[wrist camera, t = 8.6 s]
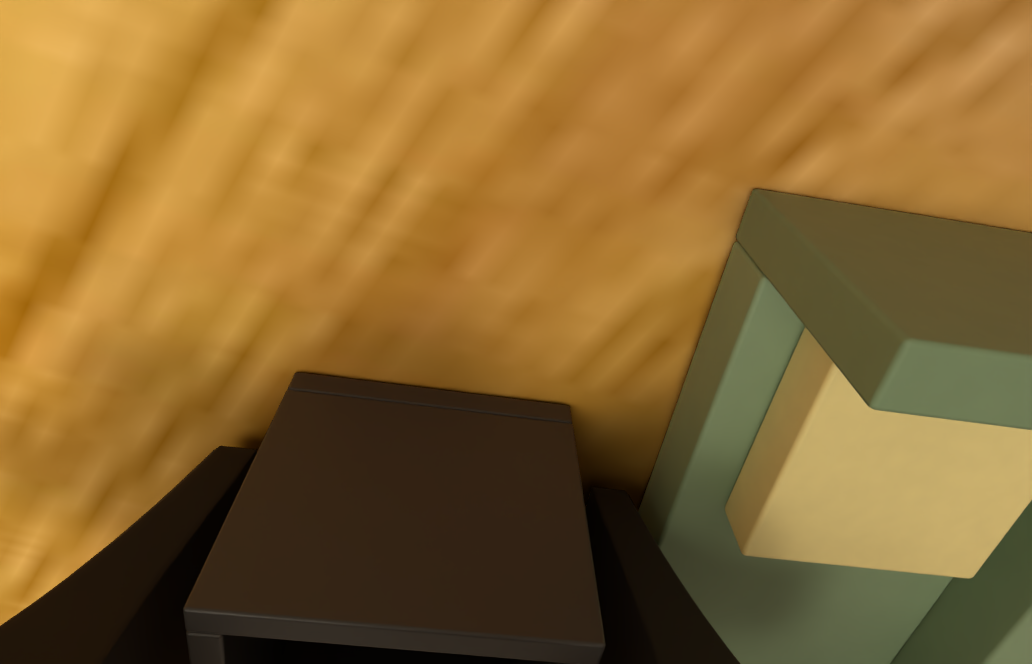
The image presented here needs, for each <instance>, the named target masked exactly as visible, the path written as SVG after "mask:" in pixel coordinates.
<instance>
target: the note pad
mask: <svg viewBox="0 0 1032 664" xmlns="http://www.w3.org/2000/svg"><path fill="white" fill-rule="evenodd" d="M1031 500H1032V430H1027V429H1019V428H1011V427H1003V426H996V425H988V424H980V423H972V422H965V421H957V420H949V419H941V418H933V417H926V416H918V415H910V414H902V413H894V412H887V411H879V410H874V409H872V408H870V407H868V406H867V404H866V403H865V402H864V401H863V399H862V398H861V397H860V395H859V394H858V393H857V392H856V390H855V389H854V388H853V387H852V385H851V384H850V383H849V382H848V380H847V379H846V378H845V376H844V375H843V374H842V373H841V371H840V370H839V369H838V368H837V366H836V365H835V364H834V362H833V361H832V360H831V359H830V357H829V356H828V355H827V354H826V352H825V351H824V350H823V349H822V347H821V346H820V345H819V343H818V342H817V341H816V340H815V338H814V337H813V336H812V335H811V333H810V332H809V331H808V329H807V328H806V327H805V328H804V330H803V332H802V335H801V337H800V339H799V341H798V344H797V346H796V348H795V350H794V353H793V355H792V357H791V359H790V362H789V364H788V366H787V368H786V371H785V373H784V375H783V377H782V380H781V382H780V384H779V386H778V389H777V391H776V393H775V395H774V398H773V400H772V402H771V404H770V407H769V409H768V411H767V413H766V416H765V418H764V420H763V422H762V425H761V427H760V429H759V431H758V434H757V436H756V438H755V440H754V443H753V445H752V447H751V449H750V452H749V454H748V456H747V458H746V461H745V463H744V465H743V467H742V470H741V472H740V474H739V476H738V479H737V481H736V483H735V485H734V488H733V490H732V492H731V494H730V497H729V499H728V501H727V503H726V506H725V512H726V515H727V517H728V520H729V523H730V525H731V528H732V530H733V533H734V535H735V538H736V540H737V543H738V545H739V548H740V551H741V553H742V554H743V555H745V556H752V557H762V558H772V559H782V560H791V561H801V562H811V563H821V564H830V565H840V566H850V567H860V568H869V569H879V570H889V571H899V572H908V573H918V574H928V575H938V576H947V577H957V578H967V579H969V578H972V577H974V576H975V574H976V573H977V572H978V570H979V569H980V568H981V566H982V565H983V564H984V562H985V561H986V560H987V558H988V557H989V556H990V554H991V553H992V552H993V550H994V549H995V548H996V546H997V545H998V544H999V543H1000V541H1001V540H1002V539H1003V537H1004V536H1005V535H1006V533H1007V532H1008V531H1009V529H1010V528H1011V527H1012V525H1013V524H1014V523H1015V521H1016V520H1017V519H1018V517H1019V516H1020V515H1021V513H1022V512H1023V511H1024V509H1025V508H1026V507H1027V506H1028V504H1029V503H1030V502H1031Z"/></svg>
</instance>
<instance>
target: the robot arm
mask: <svg viewBox="0 0 1032 664" xmlns="http://www.w3.org/2000/svg"><path fill="white" fill-rule="evenodd" d="M256 454H257V450H254V449H245V448H236V447H227V446H219V447H218V448H216V449H215V450H213V451H212V452H211V453H210V454H209V455H208V456H207V457H206V458H205V459H204V460H203V461H202V462H201V463H200V464H199V465H198V466H197V467H196V468H195V469H193V470H192V471H191V472H190V473H189V474H188V475H187V476H186V477H185V478H184V479H183V480H182V481H181V482H180V483H179V484H177V485H176V486H175V487H174V488H173V489H172V490H171V491H170V492H169V493H168V494H167V495H165V496H164V497H163V498H162V499H161V500H160V501H159V502H158V503H157V504H156V505H154V506H153V507H152V508H151V509H150V510H149V511H148V512H146V513H145V514H144V515H143V516H142V517H141V518H139V519H138V520H137V521H136V522H135V523H134V524H133V525H131V526H130V527H129V528H128V529H127V530H126V531H125V532H123V533H122V534H121V535H120V536H119V537H117V538H116V539H115V540H114V541H113V542H111V543H110V544H109V545H108V546H107V547H105V548H104V549H103V550H101V551H100V552H99V553H98V554H96V555H95V556H94V557H93V558H91V559H90V560H89V561H88V562H86V563H85V564H84V565H83V566H81V567H80V568H79V569H78V570H76V571H75V572H74V573H73V574H71V575H70V576H69V577H68V578H66V579H65V580H64V581H62V582H61V583H60V584H58V585H57V586H56V587H54V588H53V589H52V590H50V591H49V592H48V593H46V594H45V595H43V596H42V597H41V598H39V599H38V600H37V601H35V602H34V603H32V604H31V605H30V606H28V607H27V608H25V609H24V610H23V611H21V612H20V613H18V614H17V615H15V616H14V617H12V618H11V619H10V620H8V621H7V622H5V623H4V624H2V625H1V626H0V664H190V659H189V651H188V643H187V636H186V632H187V630H186V628H185V621H184V613H183V608H184V606H185V604H186V602H187V600H188V597H189V595H190V593H191V591H192V589H193V587H194V585H195V583H196V581H197V578H198V576H199V574H200V572H201V570H202V568H203V566H204V564H205V562H206V559H207V557H208V555H209V553H210V551H211V549H212V547H213V545H214V543H215V540H216V538H217V536H218V534H219V532H220V530H221V528H222V526H223V524H224V521H225V519H226V517H227V515H228V513H229V511H230V509H231V507H232V505H233V502H234V500H235V498H236V496H237V494H238V492H239V490H240V488H241V486H242V483H243V481H244V479H245V477H246V475H247V473H248V471H249V469H250V467H251V464H252V462H253V460H254V458H255V456H256ZM585 510H586V517H587V523H588V530H589V537H590V543H591V550H592V557H593V564H594V570H595V577H596V584H597V591H598V597H599V604H600V611H601V617H602V624H603V631H604V638H605V644H606V645H605V649H604V651H603V654H602V657H601V659H600V662H599V664H741V663H740V662H739V661H738V660H737V658H736V657H735V656H734V655H733V653H732V652H731V651H730V649H729V648H728V647H727V646H726V644H725V643H724V642H723V640H722V639H721V638H720V636H719V635H718V634H717V632H716V631H715V629H714V628H713V627H712V625H711V624H710V623H709V621H708V620H707V619H706V617H705V616H704V614H703V613H702V612H701V610H700V609H699V607H698V606H697V604H696V603H695V602H694V600H693V599H692V597H691V596H690V594H689V593H688V591H687V590H686V588H685V587H684V585H683V584H682V582H681V581H680V579H679V578H678V576H677V575H676V573H675V572H674V570H673V569H672V567H671V565H670V564H669V562H668V561H667V559H666V558H665V556H664V554H663V553H662V551H661V549H660V548H659V546H658V545H657V543H656V541H655V540H654V538H653V536H652V535H651V533H650V531H649V530H648V528H647V526H646V525H645V523H644V521H643V520H642V518H641V516H640V514H639V513H638V511H637V509H636V508H635V506H634V504H633V502H632V501H631V499H630V497H629V496H628V494H627V493H626V492H625V491H623V490H614V489H605V488H596V487H592V488H591V491H590V495H589V498H588V501H587V505H586V508H585Z"/></svg>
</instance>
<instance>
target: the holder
mask: <svg viewBox="0 0 1032 664" xmlns="http://www.w3.org/2000/svg"><path fill="white" fill-rule="evenodd" d="M183 613H184V621H185V628H186V630H187V632H186V636H187V643H188V651H189V659H190V664H599V662H600V659H601V657H602V654H603V651H604V649H605V645H606V644H605V638H604V631H603V624H602V617H601V611H600V604H599V597H598V591H597V584H596V577H595V570H594V564H593V557H592V550H591V543H590V537H589V530H588V523H587V517H586V510H585V503H584V496H583V490H582V483H581V476H580V469H579V463H578V456H577V449H576V443H575V436H574V429H573V425H572V417H571V411H570V407H569V406H567V405H560V404H551V403H543V402H535V401H527V400H519V399H511V398H503V397H495V396H486V395H478V394H470V393H462V392H454V391H446V390H438V389H430V388H421V387H413V386H405V385H397V384H389V383H381V382H373V381H364V380H356V379H348V378H340V377H332V376H324V375H316V374H308V373H299V372H298V373H295V374H294V376H293V379H292V381H291V383H290V385H289V387H288V390H287V391H286V393H285V395H284V397H283V399H282V401H281V403H280V405H279V407H278V410H277V412H276V414H275V416H274V418H273V420H272V422H271V424H270V426H269V429H268V431H267V433H266V435H265V437H264V439H263V441H262V443H261V445H260V448H259V450H258V452H257V454H256V456H255V458H254V460H253V462H252V464H251V467H250V469H249V471H248V473H247V475H246V477H245V479H244V481H243V483H242V486H241V488H240V490H239V492H238V494H237V496H236V498H235V500H234V502H233V505H232V507H231V509H230V511H229V513H228V515H227V517H226V519H225V521H224V524H223V526H222V528H221V530H220V532H219V534H218V536H217V538H216V540H215V543H214V545H213V547H212V549H211V551H210V553H209V555H208V557H207V559H206V562H205V564H204V566H203V568H202V570H201V572H200V574H199V576H198V578H197V581H196V583H195V585H194V587H193V589H192V591H191V593H190V595H189V597H188V600H187V602H186V604H185V606H184V608H183Z"/></svg>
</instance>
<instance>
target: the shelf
mask: <svg viewBox="0 0 1032 664" xmlns="http://www.w3.org/2000/svg"><path fill="white" fill-rule="evenodd" d="M736 239H737V241H738V242H735V243H734V244H733V247H732V250H731V253H730V256H729V258H728V261H727V264H726V267H725V270H724V272H723V275H722V278H721V281H720V284H719V286H718V289H717V292H716V295H715V298H714V300H713V303H712V306H711V309H710V312H709V314H708V317H707V320H706V323H705V326H704V329H703V331H702V334H701V337H700V340H699V343H698V345H697V348H696V351H695V354H694V357H693V359H692V362H691V365H690V368H689V371H688V373H687V376H686V379H685V382H684V385H683V387H682V390H681V393H680V396H679V399H678V401H677V404H676V407H675V410H674V413H673V415H672V418H671V421H670V424H669V427H668V429H667V432H666V435H665V438H664V441H663V444H662V446H661V449H660V452H659V455H658V458H657V460H656V463H655V466H654V469H653V472H652V474H651V477H650V480H649V483H648V486H647V488H646V491H645V494H644V497H643V500H642V502H641V505H640V508H639V511H638V513H639V514H640V516H641V518H642V520H643V521H644V523H645V525H646V526H647V528H648V530H649V531H650V533H651V535H652V536H653V538H654V540H655V541H656V543H657V545H658V546H659V548H660V549H661V551H662V553H663V554H664V556H665V558H666V559H667V561H668V562H669V564H670V565H671V567H672V569H673V570H674V572H675V573H676V575H677V576H678V578H679V579H680V581H681V582H682V584H683V585H684V587H685V588H686V590H687V591H688V593H689V594H690V596H691V597H692V599H693V600H694V602H695V603H696V604H697V606H698V607H699V609H700V610H701V612H702V613H703V614H704V616H705V617H706V619H707V620H708V621H709V623H710V624H711V625H712V627H713V628H714V629H715V631H716V632H717V634H718V635H719V636H720V638H721V639H722V640H723V642H724V643H725V644H726V646H727V647H728V648H729V649H730V651H731V652H732V653H733V655H734V656H735V657H736V658H737V660H738V661H739V662H740V663H741V664H1032V500H1031V502H1030V503H1029V504H1028V506H1027V507H1026V508H1025V509H1024V511H1023V512H1022V513H1021V515H1020V516H1019V517H1018V519H1017V520H1016V521H1015V523H1014V524H1013V525H1012V527H1011V528H1010V529H1009V531H1008V532H1007V533H1006V535H1005V536H1004V537H1003V539H1002V540H1001V541H1000V543H999V544H998V545H997V546H996V548H995V549H994V550H993V552H992V553H991V554H990V556H989V557H988V558H987V560H986V561H985V562H984V564H983V565H982V566H981V568H980V569H979V570H978V572H977V573H976V574H975V576H974V577H972V578H969V579H967V578H957V577H947V576H938V575H928V574H918V573H908V572H899V571H889V570H879V569H869V568H860V567H850V566H840V565H830V564H821V563H811V562H801V561H791V560H782V559H772V558H762V557H752V556H745V555H743V554H742V553H741V551H740V548H739V545H738V543H737V540H736V538H735V535H734V533H733V530H732V528H731V525H730V523H729V520H728V517H727V515H726V512H725V506H726V503H727V501H728V499H729V497H730V494H731V492H732V490H733V488H734V485H735V483H736V481H737V479H738V476H739V474H740V472H741V470H742V467H743V465H744V463H745V461H746V458H747V456H748V454H749V452H750V449H751V447H752V445H753V443H754V440H755V438H756V436H757V434H758V431H759V429H760V427H761V425H762V422H763V420H764V418H765V416H766V413H767V411H768V409H769V407H770V404H771V402H772V400H773V398H774V395H775V393H776V391H777V389H778V386H779V384H780V382H781V380H782V377H783V375H784V373H785V371H786V368H787V366H788V364H789V362H790V359H791V357H792V355H793V353H794V350H795V348H796V346H797V344H798V341H799V339H800V337H801V335H802V332H803V330H804V328H805V327H806V328H807V329H808V331H809V332H810V333H811V335H812V336H813V337H814V338H815V340H816V341H817V342H818V343H819V345H820V346H821V347H822V349H823V350H824V351H825V352H826V354H827V355H828V356H829V357H830V359H831V360H832V361H833V362H834V364H835V365H836V366H837V368H838V369H839V370H840V371H841V373H842V374H843V375H844V376H845V378H846V379H847V380H848V382H849V383H850V384H851V385H852V387H853V388H854V389H855V390H856V392H857V393H858V394H859V395H860V397H861V398H862V399H863V401H864V402H865V403H866V404H867V406H868V407H870V408H872V409H874V410H879V411H887V412H894V413H902V414H910V415H918V416H926V417H933V418H941V419H949V420H957V421H965V422H972V423H980V424H988V425H996V426H1003V427H1011V428H1019V429H1027V430H1032V233H1028V232H1022V231H1016V230H1010V229H1004V228H997V227H991V226H985V225H979V224H973V223H966V222H960V221H954V220H948V219H942V218H935V217H929V216H923V215H917V214H911V213H904V212H898V211H892V210H886V209H880V208H873V207H867V206H861V205H855V204H849V203H842V202H836V201H830V200H824V199H818V198H811V197H805V196H799V195H793V194H787V193H780V192H774V191H768V190H762V189H754V190H753V191H752V193H751V196H750V198H749V201H748V204H747V207H746V210H745V212H744V215H743V218H742V221H741V224H740V226H739V229H738V232H737V235H736Z"/></svg>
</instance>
